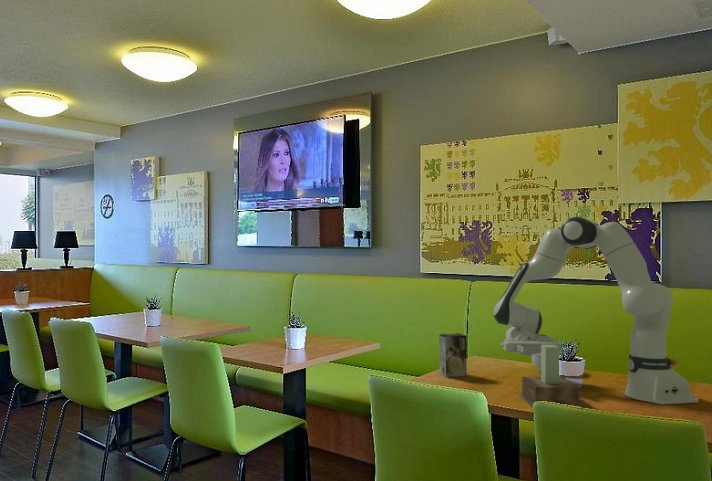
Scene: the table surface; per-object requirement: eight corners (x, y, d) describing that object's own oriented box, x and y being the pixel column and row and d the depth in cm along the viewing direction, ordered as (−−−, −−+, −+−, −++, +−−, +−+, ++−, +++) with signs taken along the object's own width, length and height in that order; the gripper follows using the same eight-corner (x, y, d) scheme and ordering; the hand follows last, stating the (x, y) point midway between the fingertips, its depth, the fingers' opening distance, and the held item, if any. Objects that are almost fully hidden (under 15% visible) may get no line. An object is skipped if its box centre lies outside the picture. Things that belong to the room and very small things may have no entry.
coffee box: (459, 372, 229) (460, 332, 229) (466, 376, 222) (467, 335, 222) (438, 373, 226) (439, 333, 226) (445, 377, 220) (445, 336, 220)
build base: (564, 394, 196) (564, 376, 196) (583, 408, 180) (583, 388, 180) (518, 394, 196) (518, 376, 196) (533, 407, 180) (533, 387, 180)
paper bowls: (565, 367, 239) (565, 349, 239) (575, 376, 224) (575, 356, 224) (528, 366, 241) (528, 348, 241) (536, 375, 226) (536, 355, 226)
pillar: (554, 380, 191) (554, 344, 191) (558, 383, 186) (559, 347, 186) (540, 380, 191) (541, 344, 191) (545, 383, 186) (545, 347, 186)
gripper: (498, 334, 214) (509, 341, 200) (552, 335, 214) (566, 342, 200) (498, 351, 214) (508, 359, 200) (552, 351, 214) (566, 359, 200)
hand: (538, 350), depth 200 cm, fingers open, 8 cm apart
